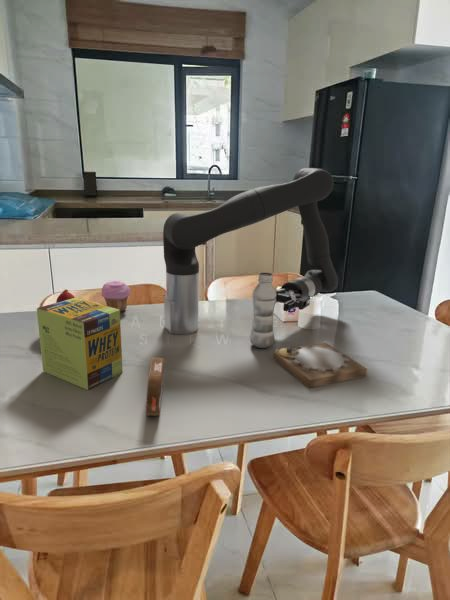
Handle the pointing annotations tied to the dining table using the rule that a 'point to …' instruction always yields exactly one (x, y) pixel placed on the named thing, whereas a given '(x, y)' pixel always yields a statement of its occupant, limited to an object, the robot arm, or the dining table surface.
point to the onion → (64, 296)
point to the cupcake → (116, 294)
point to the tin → (155, 387)
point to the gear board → (318, 364)
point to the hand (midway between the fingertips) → (270, 304)
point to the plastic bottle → (263, 311)
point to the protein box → (80, 341)
